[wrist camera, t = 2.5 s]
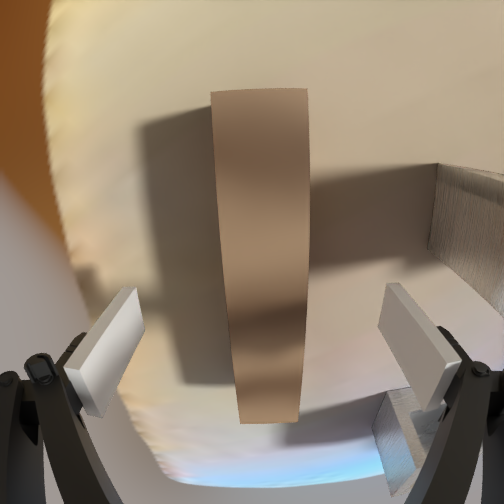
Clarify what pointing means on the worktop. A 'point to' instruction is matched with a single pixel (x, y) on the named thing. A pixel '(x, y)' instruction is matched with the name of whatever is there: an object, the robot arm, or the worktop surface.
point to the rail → (264, 243)
